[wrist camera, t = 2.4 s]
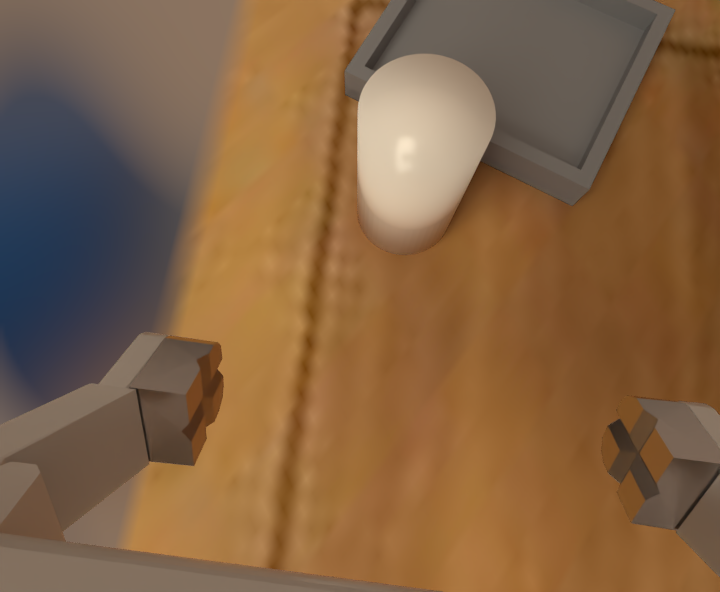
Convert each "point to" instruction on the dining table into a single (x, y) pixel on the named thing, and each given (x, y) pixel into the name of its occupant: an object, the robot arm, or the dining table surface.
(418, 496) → the dining table surface
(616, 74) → the serving tray
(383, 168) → the cream capsule shape
